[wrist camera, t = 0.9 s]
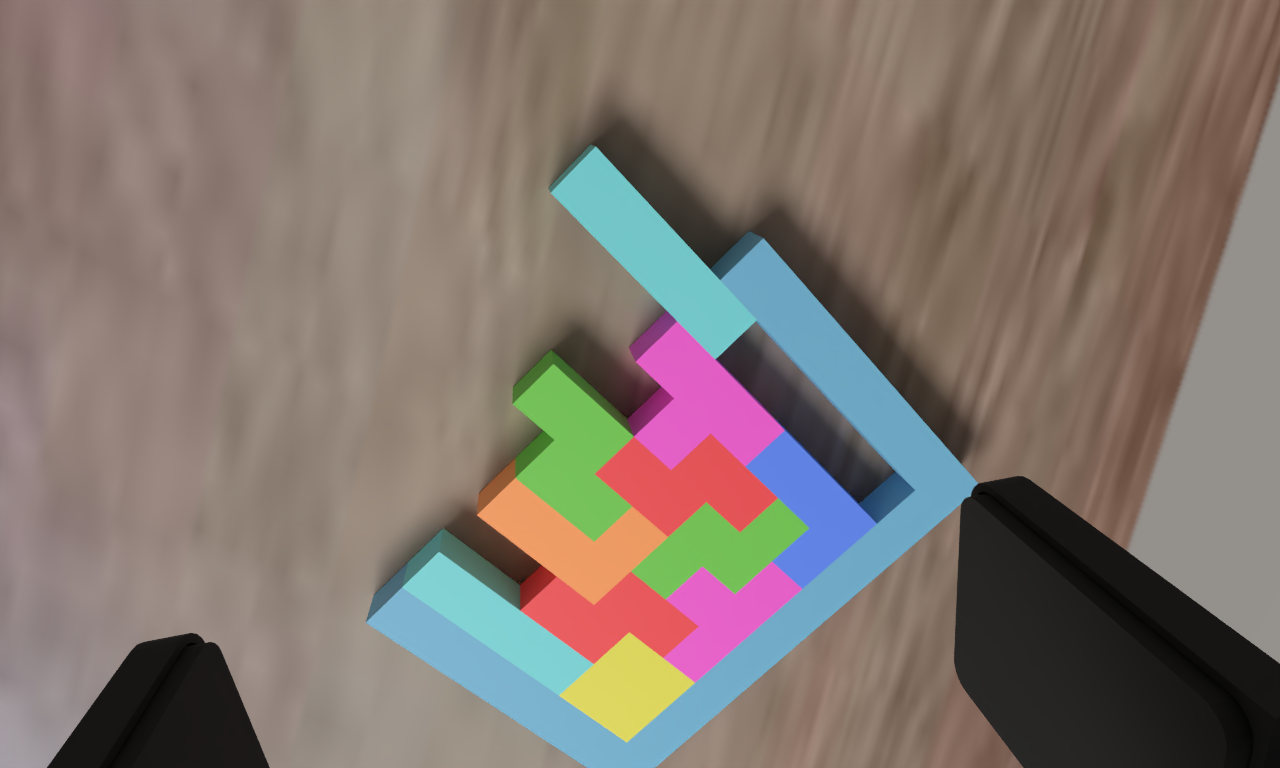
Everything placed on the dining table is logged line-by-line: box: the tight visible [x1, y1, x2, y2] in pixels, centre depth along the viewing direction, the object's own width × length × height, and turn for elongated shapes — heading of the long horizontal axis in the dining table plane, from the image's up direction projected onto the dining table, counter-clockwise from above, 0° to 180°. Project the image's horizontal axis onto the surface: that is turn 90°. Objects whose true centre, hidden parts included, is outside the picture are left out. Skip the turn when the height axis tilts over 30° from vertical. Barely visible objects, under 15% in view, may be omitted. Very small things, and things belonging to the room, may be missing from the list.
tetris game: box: [366, 145, 978, 768], centre depth 40 cm, size 28×3×28 cm
